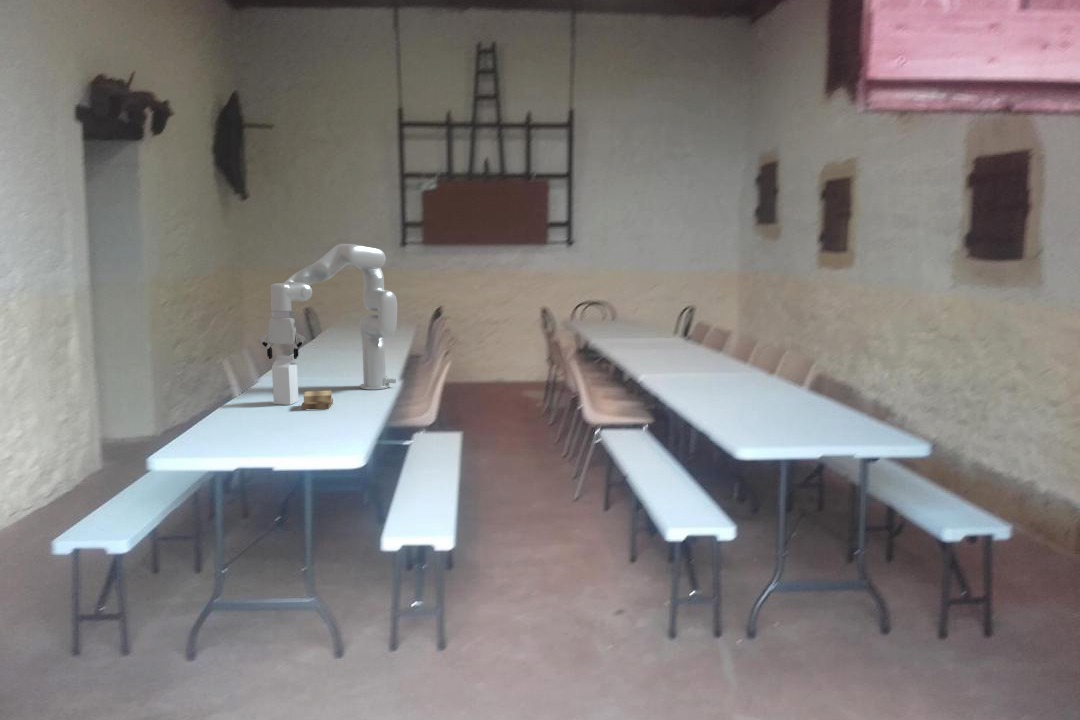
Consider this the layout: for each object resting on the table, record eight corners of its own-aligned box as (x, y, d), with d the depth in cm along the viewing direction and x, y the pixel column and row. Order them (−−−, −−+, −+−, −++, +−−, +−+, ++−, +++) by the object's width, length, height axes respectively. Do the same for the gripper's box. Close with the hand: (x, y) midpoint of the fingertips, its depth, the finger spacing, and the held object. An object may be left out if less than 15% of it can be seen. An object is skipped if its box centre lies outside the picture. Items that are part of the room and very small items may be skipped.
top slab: (331, 397, 348) (331, 390, 347) (331, 402, 338) (330, 395, 337) (305, 399, 346) (305, 391, 345) (304, 404, 336) (303, 396, 335)
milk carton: (290, 405, 346) (288, 357, 343) (273, 404, 347) (271, 356, 344) (298, 401, 353) (296, 354, 350) (282, 401, 354) (280, 354, 351)
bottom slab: (333, 405, 347) (332, 398, 347) (328, 411, 337) (328, 403, 337) (307, 406, 347) (307, 398, 346) (302, 411, 337) (301, 403, 336)
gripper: (306, 314, 349) (307, 357, 351) (261, 314, 348) (263, 357, 350) (302, 316, 341) (303, 359, 344) (256, 315, 340) (258, 359, 343)
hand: (283, 358), depth 347 cm, fingers open, 9 cm apart
